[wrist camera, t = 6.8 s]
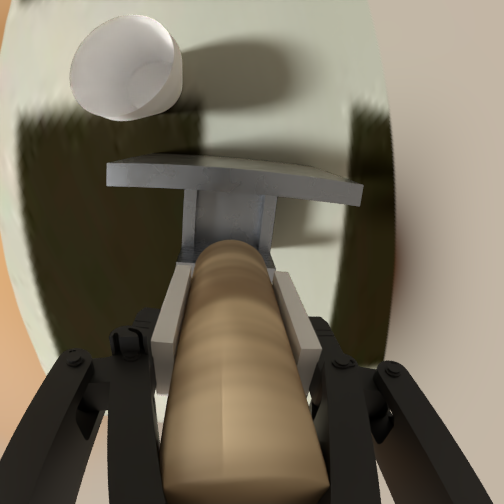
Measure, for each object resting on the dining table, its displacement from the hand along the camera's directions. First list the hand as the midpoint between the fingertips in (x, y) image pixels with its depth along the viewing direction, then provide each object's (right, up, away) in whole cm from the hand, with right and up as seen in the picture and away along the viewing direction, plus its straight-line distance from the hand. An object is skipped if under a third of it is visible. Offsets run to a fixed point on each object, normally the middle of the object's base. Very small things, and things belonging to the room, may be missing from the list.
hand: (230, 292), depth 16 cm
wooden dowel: (0, +1, +2) cm, 2 cm away
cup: (-10, +20, +13) cm, 26 cm away
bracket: (-2, +7, +18) cm, 20 cm away
